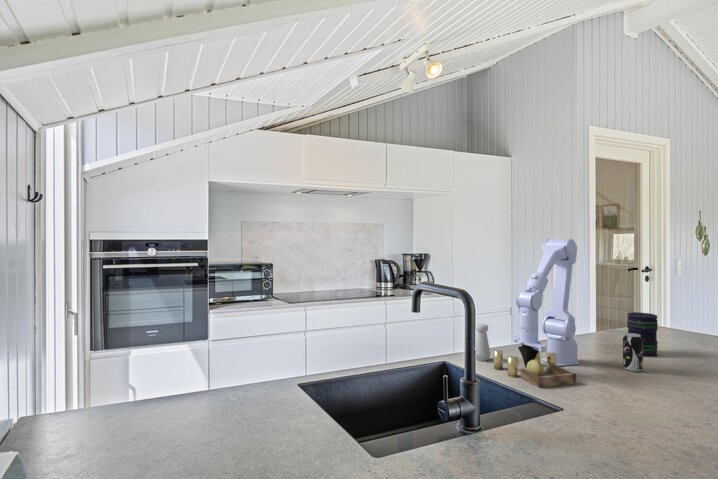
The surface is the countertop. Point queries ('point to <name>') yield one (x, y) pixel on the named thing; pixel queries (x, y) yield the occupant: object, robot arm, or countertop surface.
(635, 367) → the beverage can
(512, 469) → the countertop surface
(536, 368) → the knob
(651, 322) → the storage jar
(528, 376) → the corral
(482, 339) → the salt shaker
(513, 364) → the spacer field
